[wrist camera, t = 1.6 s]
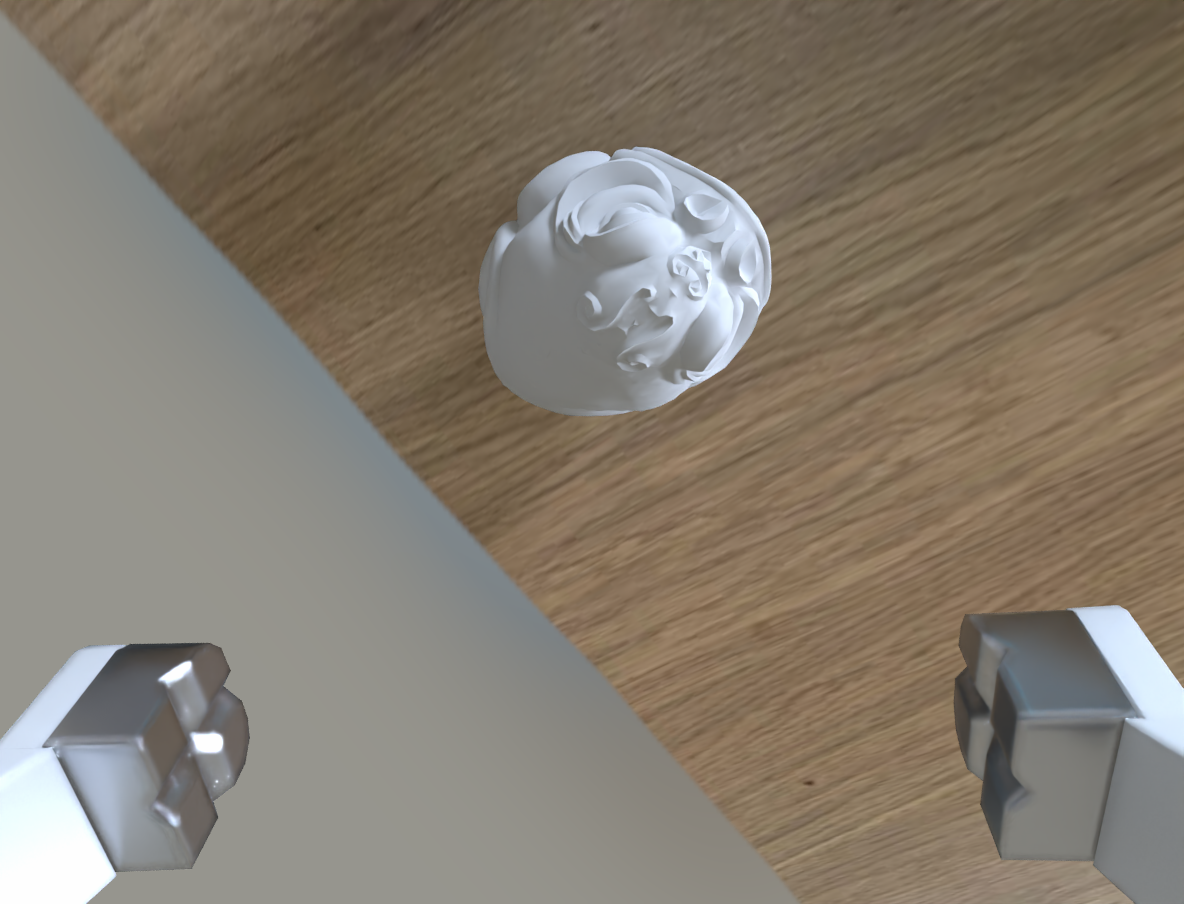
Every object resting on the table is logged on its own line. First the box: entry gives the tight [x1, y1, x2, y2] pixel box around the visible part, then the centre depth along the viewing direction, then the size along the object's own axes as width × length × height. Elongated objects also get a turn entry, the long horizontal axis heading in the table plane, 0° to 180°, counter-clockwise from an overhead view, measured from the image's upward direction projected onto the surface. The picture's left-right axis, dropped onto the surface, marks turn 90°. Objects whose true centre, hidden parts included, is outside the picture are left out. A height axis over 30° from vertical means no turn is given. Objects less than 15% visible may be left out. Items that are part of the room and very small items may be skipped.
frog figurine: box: [478, 147, 771, 416], centre depth 22 cm, size 6×7×7 cm
